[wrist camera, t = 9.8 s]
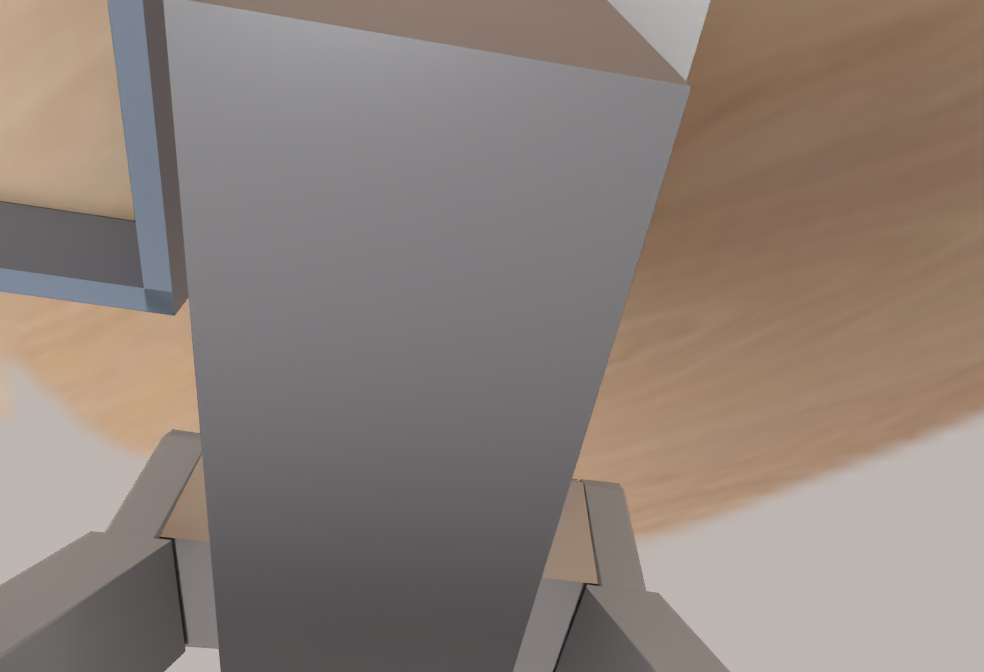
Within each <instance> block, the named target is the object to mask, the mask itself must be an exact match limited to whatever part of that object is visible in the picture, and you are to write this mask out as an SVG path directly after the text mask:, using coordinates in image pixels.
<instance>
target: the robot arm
mask: <svg viewBox="0 0 984 672" xmlns="http://www.w3.org/2000/svg"><path fill="white" fill-rule="evenodd" d="M185 646H188V647H201V648H217V649H219V644H218V632H217V621H216V609H215V597H214V586H213V574H212V563H211V551H210V539H209V528H208V516H207V504H206V493H205V481H204V470H203V458H202V446H201V435H200V433H194V432H187V431H181V430H174V429H173V430H172V431H170V432H169V433H168V434H166V435H165V436H164V437H163V438H162V439H161V441H160V443H159V444H158V446H157V447H156V449H155V451H154V452H153V454H152V456H151V457H150V459H149V461H148V462H147V464H146V466H145V467H144V469H143V471H142V472H141V474H140V476H139V477H138V479H137V480H136V482H135V484H134V485H133V487H132V489H131V490H130V492H129V494H128V495H127V497H126V499H125V500H124V502H123V504H122V505H121V507H120V508H119V510H118V512H117V513H116V515H115V517H114V518H113V520H112V521H111V523H110V525H109V526H108V528H107V530H106V531H105V533H104V532H92V531H91V532H89V533H87V534H86V535H84V536H82V537H81V538H79V539H77V540H76V541H74V542H72V543H71V544H69V545H67V546H66V547H64V548H62V549H60V550H59V551H57V552H55V553H54V554H52V555H50V556H49V557H47V558H45V559H44V560H42V561H40V562H39V563H37V564H35V565H34V566H32V567H30V568H28V569H27V570H25V571H23V572H22V573H20V574H18V575H17V576H15V577H13V578H12V579H10V580H8V581H7V582H5V583H3V584H2V585H0V672H164V671H165V670H166V669H167V668H168V667H169V666H171V665H172V663H173V662H175V661H176V660H177V659H178V658H179V657H180V656H181V655H182V654H183V653H184V652H185ZM513 672H730V671H729V670H728V669H727V668H726V667H725V666H724V665H723V663H722V662H721V661H720V660H719V659H718V658H717V657H716V656H715V655H714V654H713V652H712V651H711V650H710V649H709V648H708V647H707V646H706V645H705V644H704V643H703V641H702V640H701V639H700V638H699V637H698V636H697V635H696V634H695V633H694V632H693V630H691V628H690V627H689V626H688V625H687V624H686V623H685V622H684V621H683V619H682V618H681V617H680V616H679V615H678V614H677V613H676V612H675V611H674V610H673V609H672V607H671V606H670V605H669V604H668V603H667V602H666V601H665V600H664V599H663V597H662V596H661V595H660V594H659V593H655V592H648V591H646V588H645V583H644V579H643V575H642V570H641V565H640V562H639V557H638V552H637V547H636V543H635V538H634V533H633V529H632V524H631V520H630V515H629V511H628V506H627V502H626V497H625V493H624V489H623V488H622V487H621V485H620V484H619V483H611V482H601V481H592V480H582V479H581V480H580V481H579V480H578V479H572V480H571V483H570V486H569V490H568V493H567V496H566V499H565V503H564V506H563V509H562V513H561V516H560V519H559V522H558V526H557V529H556V532H555V535H554V539H553V542H552V545H551V549H550V552H549V555H548V558H547V562H546V565H545V568H544V571H543V575H542V578H541V581H540V585H539V588H538V591H537V594H536V598H535V601H534V604H533V608H532V611H531V614H530V617H529V621H528V624H527V627H526V630H525V634H524V637H523V640H522V644H521V647H520V650H519V653H518V657H517V660H516V663H515V666H514V670H513Z"/></svg>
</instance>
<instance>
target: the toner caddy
mask: <svg viewBox="0 0 984 672" xmlns="http://www.w3.org/2000/svg"><path fill="white" fill-rule="evenodd" d="M710 1H711V0H163V4H164V16H165V28H166V39H167V51H168V62H169V74H170V86H171V97H172V109H173V121H174V132H175V144H176V155H177V167H178V179H179V190H180V202H181V214H182V225H183V237H184V249H185V260H186V272H187V283H188V295H189V307H190V318H191V330H192V342H193V353H194V365H195V376H196V388H197V400H198V411H199V423H200V435H201V446H202V458H203V470H204V481H205V493H206V504H207V516H208V528H209V539H210V551H211V563H212V574H213V586H214V597H215V609H216V621H217V632H218V644H219V656H220V667H221V672H513V670H514V666H515V663H516V660H517V657H518V653H519V650H520V647H521V644H522V640H523V637H524V634H525V630H526V627H527V624H528V621H529V617H530V614H531V611H532V608H533V604H534V601H535V598H536V594H537V591H538V588H539V585H540V581H541V578H542V575H543V571H544V568H545V565H546V562H547V558H548V555H549V552H550V549H551V545H552V542H553V539H554V535H555V532H556V529H557V526H558V522H559V519H560V516H561V513H562V509H563V506H564V503H565V499H566V496H567V493H568V490H569V486H570V483H571V480H572V477H573V473H574V470H575V467H576V463H577V460H578V457H579V454H580V450H581V447H582V444H583V440H584V437H585V434H586V431H587V427H588V424H589V421H590V418H591V414H592V411H593V408H594V404H595V401H596V398H597V395H598V391H599V388H600V385H601V382H602V378H603V375H604V372H605V368H606V365H607V362H608V359H609V355H610V352H611V349H612V346H613V342H614V339H615V336H616V332H617V329H618V326H619V323H620V319H621V316H622V313H623V309H624V306H625V303H626V300H627V296H628V293H629V290H630V287H631V283H632V280H633V277H634V273H635V270H636V267H637V264H638V260H639V257H640V254H641V251H642V247H643V244H644V241H645V237H646V234H647V231H648V228H649V224H650V221H651V218H652V215H653V211H654V208H655V205H656V201H657V198H658V195H659V192H660V188H661V185H662V182H663V178H664V175H665V172H666V169H667V165H668V162H669V159H670V156H671V152H672V149H673V146H674V142H675V139H676V136H677V133H678V129H679V126H680V123H681V120H682V116H683V113H684V110H685V106H686V103H687V100H688V97H689V93H690V90H691V87H692V86H691V85H690V84H689V83H688V82H687V78H688V74H689V71H690V68H691V64H692V61H693V58H694V54H695V51H696V48H697V44H698V41H699V38H700V34H701V31H702V28H703V24H704V21H705V18H706V14H707V11H708V8H709V4H710Z"/></svg>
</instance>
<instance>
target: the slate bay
mask: <svg viewBox="0 0 984 672" xmlns="http://www.w3.org/2000/svg"><path fill="white" fill-rule="evenodd" d="M107 1H108V9H109V17H110V25H111V33H112V41H113V49H114V56H115V64H116V72H117V80H118V88H119V96H120V104H121V112H122V120H123V127H124V135H125V143H126V151H127V159H128V167H129V175H130V183H131V191H132V198H133V206H134V214H135V221H128V220H122V219H115V218H108V217H101V216H94V215H88V214H81V213H74V212H67V211H61V210H54V209H47V208H40V207H34V206H27V205H20V204H13V203H7V202H0V292H8V293H15V294H22V295H29V296H37V297H44V298H51V299H58V300H65V301H73V302H80V303H87V304H94V305H102V306H109V307H116V308H123V309H131V310H138V311H145V312H152V313H160V314H167V315H174V316H175V314H176V313H177V312H178V310H179V309H180V308H181V307H182V305H183V304H184V303H185V301H186V300H187V299H188V297H189V295H188V283H187V272H186V260H185V249H184V237H183V225H182V214H181V202H180V190H179V179H178V167H177V155H176V144H175V132H174V121H173V109H172V97H171V86H170V74H169V62H168V51H167V39H166V28H165V16H164V4H163V0H107Z"/></svg>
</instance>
